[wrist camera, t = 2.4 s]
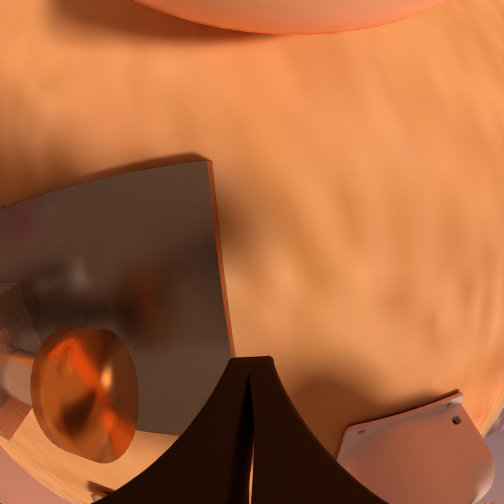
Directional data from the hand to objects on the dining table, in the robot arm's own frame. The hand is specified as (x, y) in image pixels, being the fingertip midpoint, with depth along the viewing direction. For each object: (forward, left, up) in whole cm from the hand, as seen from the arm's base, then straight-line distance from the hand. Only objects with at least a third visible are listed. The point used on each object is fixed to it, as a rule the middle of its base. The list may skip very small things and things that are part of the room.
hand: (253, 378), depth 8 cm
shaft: (+9, 0, -1) cm, 10 cm away
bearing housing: (+9, 0, -3) cm, 9 cm away
